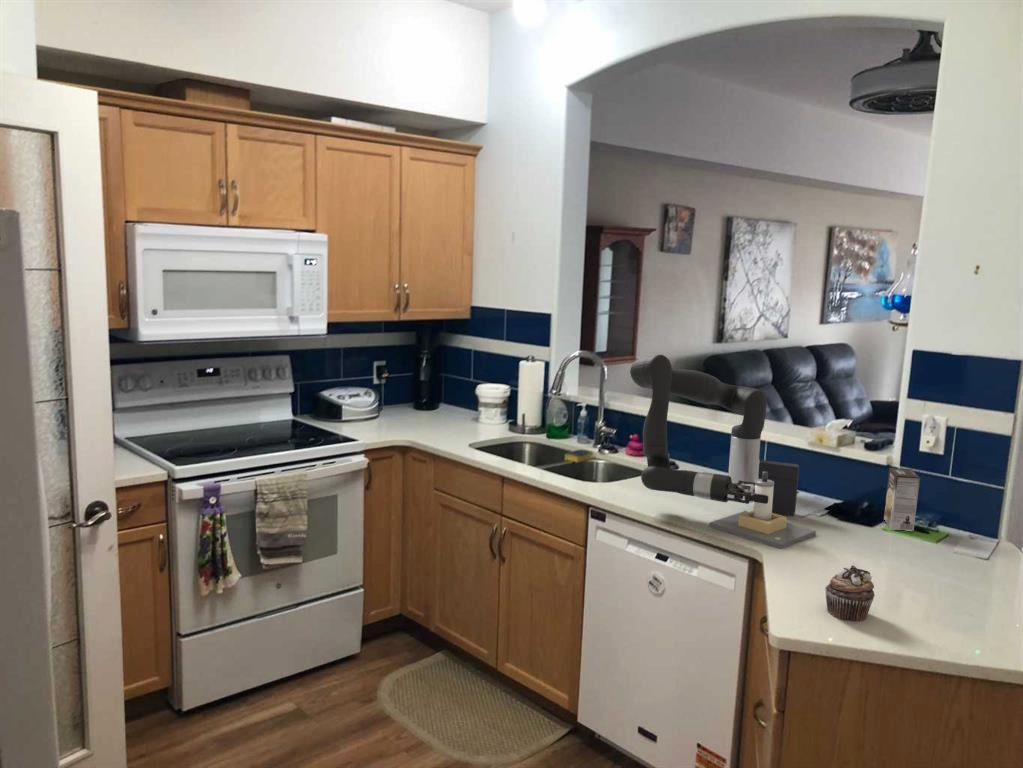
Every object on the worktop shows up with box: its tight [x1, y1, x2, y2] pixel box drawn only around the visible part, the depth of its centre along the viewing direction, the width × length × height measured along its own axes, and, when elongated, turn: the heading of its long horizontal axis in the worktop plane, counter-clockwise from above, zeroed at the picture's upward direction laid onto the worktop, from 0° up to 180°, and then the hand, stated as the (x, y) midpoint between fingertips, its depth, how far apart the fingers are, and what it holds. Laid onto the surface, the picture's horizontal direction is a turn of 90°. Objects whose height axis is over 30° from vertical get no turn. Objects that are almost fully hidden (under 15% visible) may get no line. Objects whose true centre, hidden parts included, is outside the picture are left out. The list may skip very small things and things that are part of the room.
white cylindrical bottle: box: [753, 471, 774, 522], centre depth 226 cm, size 5×5×15 cm
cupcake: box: [824, 565, 875, 622], centre depth 174 cm, size 10×10×10 cm
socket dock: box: [708, 509, 817, 550], centre depth 227 cm, size 18×22×4 cm
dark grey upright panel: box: [758, 459, 800, 517], centre depth 243 cm, size 11×4×15 cm, turn 65°
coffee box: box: [883, 467, 921, 531], centre depth 233 cm, size 9×6×16 cm
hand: (771, 496), depth 225 cm, fingers open, 8 cm apart
